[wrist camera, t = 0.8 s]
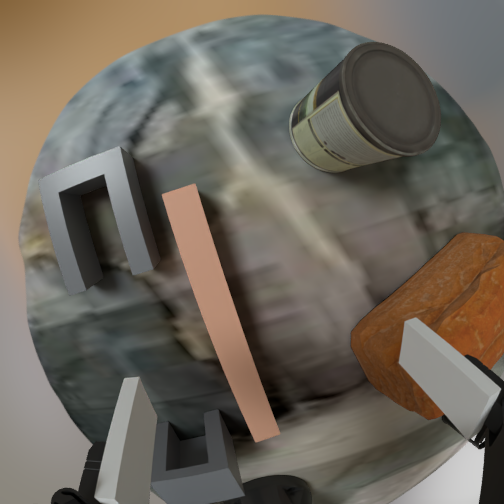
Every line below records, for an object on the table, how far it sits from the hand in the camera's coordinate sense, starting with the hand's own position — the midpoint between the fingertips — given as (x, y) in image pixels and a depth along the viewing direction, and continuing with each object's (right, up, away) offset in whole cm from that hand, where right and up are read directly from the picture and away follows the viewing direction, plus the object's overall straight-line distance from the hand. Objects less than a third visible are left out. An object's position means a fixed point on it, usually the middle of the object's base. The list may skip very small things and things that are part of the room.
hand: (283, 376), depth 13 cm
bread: (+25, -3, +26) cm, 36 cm away
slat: (-5, -1, +21) cm, 21 cm away
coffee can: (+8, +20, +20) cm, 30 cm away
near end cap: (-17, +9, +17) cm, 26 cm away
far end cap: (-9, -19, +22) cm, 30 cm away
